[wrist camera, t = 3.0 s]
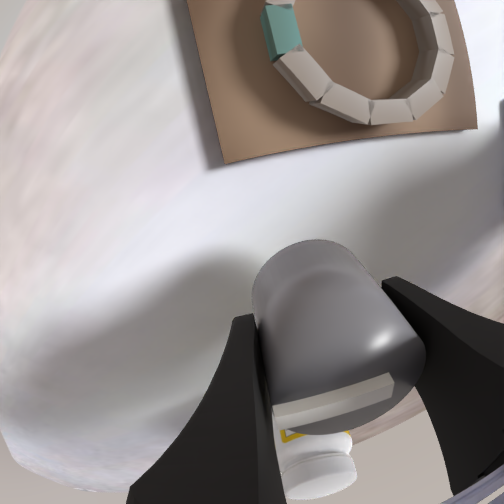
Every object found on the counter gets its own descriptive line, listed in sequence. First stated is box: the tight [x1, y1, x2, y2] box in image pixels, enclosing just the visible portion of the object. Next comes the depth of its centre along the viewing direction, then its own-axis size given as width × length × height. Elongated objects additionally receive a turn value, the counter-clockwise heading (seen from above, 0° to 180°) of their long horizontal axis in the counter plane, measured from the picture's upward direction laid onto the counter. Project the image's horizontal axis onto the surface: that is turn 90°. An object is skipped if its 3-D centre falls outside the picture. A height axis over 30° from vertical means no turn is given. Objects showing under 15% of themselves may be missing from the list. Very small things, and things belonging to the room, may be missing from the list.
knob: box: [252, 240, 426, 435], centre depth 9 cm, size 4×4×5 cm
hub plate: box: [187, 0, 478, 164], centre depth 10 cm, size 14×10×2 cm
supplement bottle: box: [271, 407, 357, 500], centre depth 16 cm, size 5×5×8 cm
